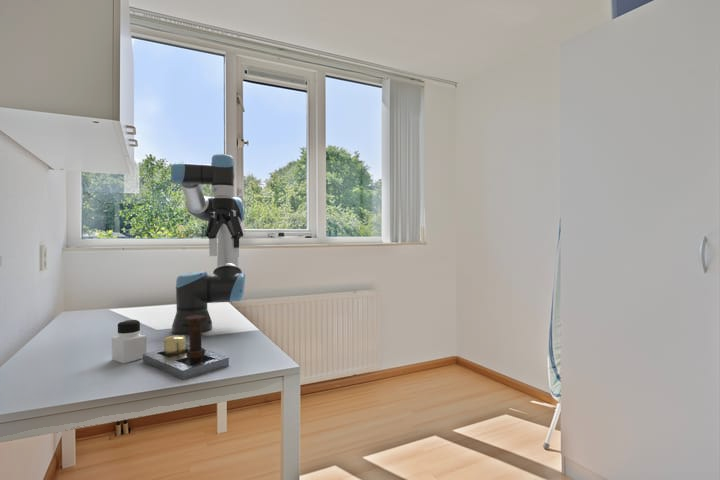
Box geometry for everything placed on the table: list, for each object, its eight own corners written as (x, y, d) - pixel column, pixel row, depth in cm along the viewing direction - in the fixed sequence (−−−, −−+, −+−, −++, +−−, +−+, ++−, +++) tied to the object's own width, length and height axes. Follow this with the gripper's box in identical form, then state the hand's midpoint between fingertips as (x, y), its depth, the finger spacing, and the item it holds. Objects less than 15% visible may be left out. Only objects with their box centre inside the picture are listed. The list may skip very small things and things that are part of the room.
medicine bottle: (146, 357, 126) (146, 320, 126) (123, 364, 120) (122, 324, 120) (135, 354, 130) (134, 317, 130) (111, 360, 124) (111, 321, 124)
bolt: (197, 372, 112) (196, 319, 112) (181, 371, 113) (181, 318, 113) (209, 365, 118) (208, 315, 118) (194, 364, 119) (193, 314, 119)
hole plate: (142, 362, 121) (142, 339, 121) (186, 351, 132) (186, 330, 132) (183, 379, 106) (182, 353, 106) (228, 365, 117) (228, 342, 117)
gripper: (195, 199, 149) (195, 256, 149) (234, 195, 133) (235, 258, 134) (213, 200, 154) (213, 255, 155) (253, 196, 139) (253, 257, 139)
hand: (223, 256), depth 144 cm, fingers open, 13 cm apart
